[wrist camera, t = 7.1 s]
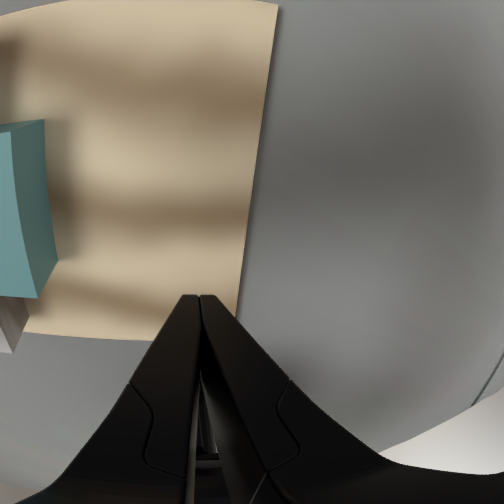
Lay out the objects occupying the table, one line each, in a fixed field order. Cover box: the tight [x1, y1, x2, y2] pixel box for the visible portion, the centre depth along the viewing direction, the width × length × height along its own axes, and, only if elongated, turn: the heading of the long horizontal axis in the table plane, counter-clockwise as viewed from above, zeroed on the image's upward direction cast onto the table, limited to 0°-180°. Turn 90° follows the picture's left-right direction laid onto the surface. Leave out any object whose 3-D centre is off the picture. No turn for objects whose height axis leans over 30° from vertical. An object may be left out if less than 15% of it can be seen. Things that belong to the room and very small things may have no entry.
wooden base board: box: [0, 0, 278, 354], centre depth 12 cm, size 20×26×4 cm
